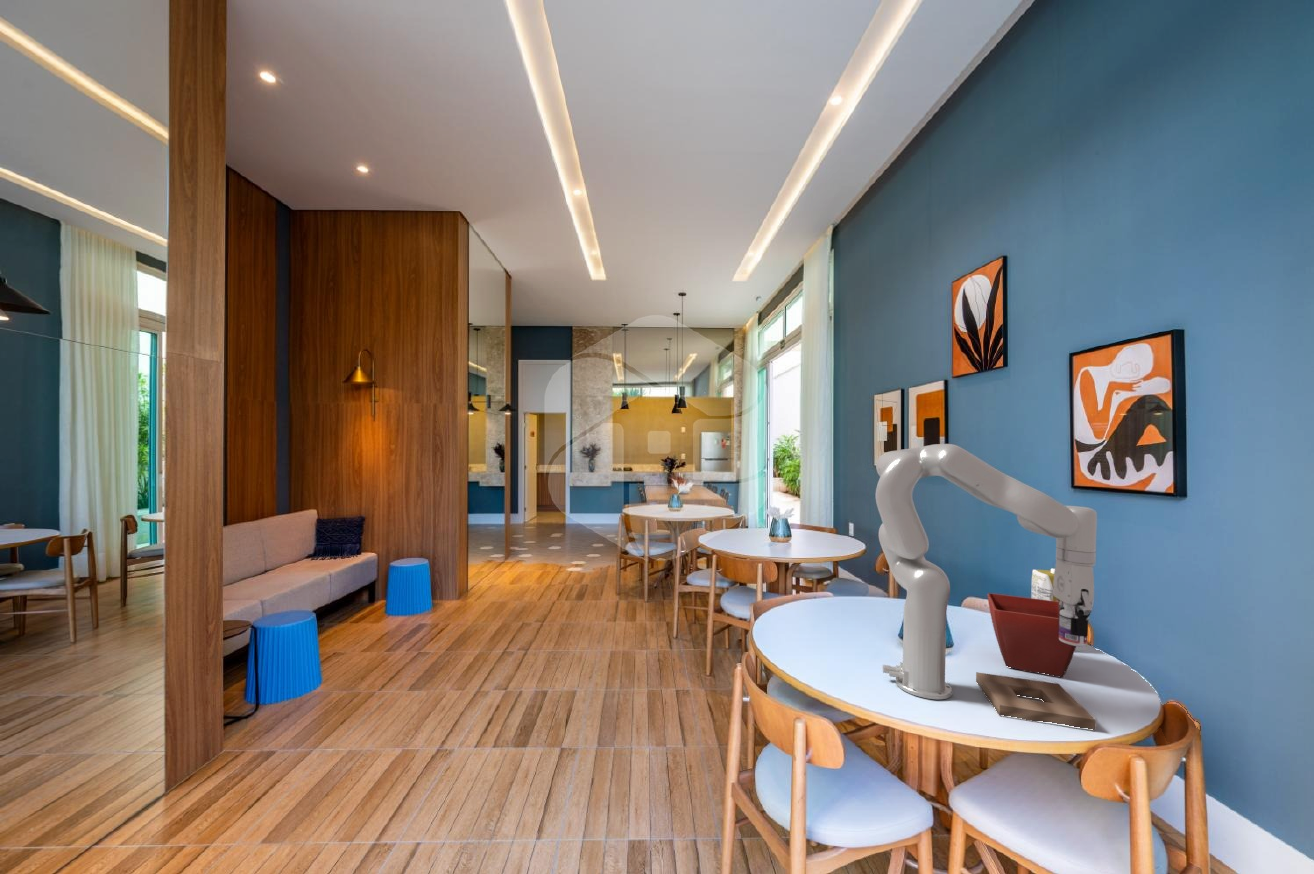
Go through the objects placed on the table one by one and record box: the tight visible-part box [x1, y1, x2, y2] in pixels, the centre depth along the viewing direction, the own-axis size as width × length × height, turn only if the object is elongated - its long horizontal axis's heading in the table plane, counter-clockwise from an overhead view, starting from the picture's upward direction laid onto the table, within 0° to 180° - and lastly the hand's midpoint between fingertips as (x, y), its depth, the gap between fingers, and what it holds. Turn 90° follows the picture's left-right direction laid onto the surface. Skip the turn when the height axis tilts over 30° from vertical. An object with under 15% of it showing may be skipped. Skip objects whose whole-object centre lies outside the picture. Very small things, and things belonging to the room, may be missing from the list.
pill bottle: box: [1059, 602, 1088, 647], centre depth 125 cm, size 5×5×10 cm
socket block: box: [975, 671, 1097, 732], centre depth 122 cm, size 18×18×2 cm
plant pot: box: [987, 592, 1077, 678], centre depth 145 cm, size 19×19×17 cm
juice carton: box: [1030, 568, 1059, 602], centre depth 160 cm, size 9×8×24 cm
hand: (1072, 630), depth 125 cm, fingers closed on pill bottle, 5 cm apart
